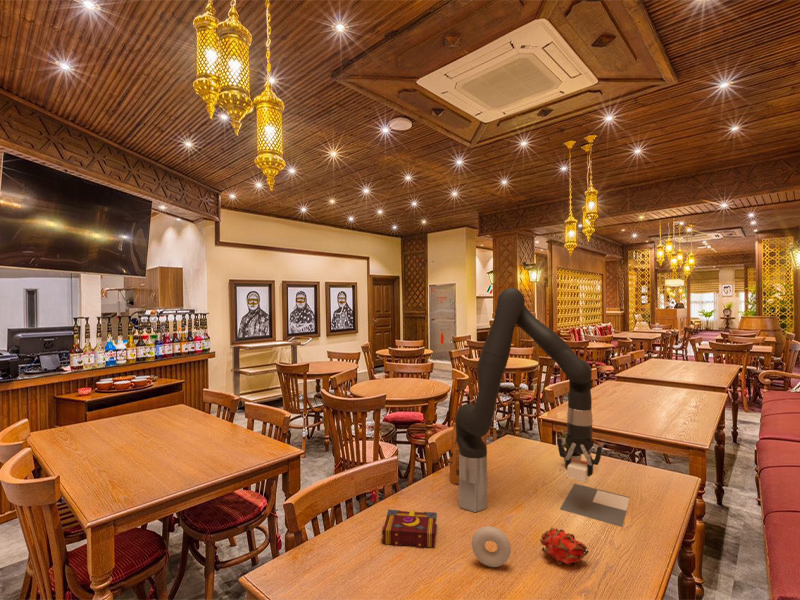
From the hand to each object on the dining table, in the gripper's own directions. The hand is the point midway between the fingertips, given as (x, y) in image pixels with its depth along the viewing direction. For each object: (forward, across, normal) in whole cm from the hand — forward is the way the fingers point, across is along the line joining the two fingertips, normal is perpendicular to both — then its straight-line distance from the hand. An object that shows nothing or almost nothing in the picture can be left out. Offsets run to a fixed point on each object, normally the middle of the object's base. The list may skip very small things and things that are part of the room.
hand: (579, 473), depth 132 cm
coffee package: (+13, -40, -2) cm, 42 cm away
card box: (+1, 0, 0) cm, 1 cm away
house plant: (+12, -8, +32) cm, 35 cm away
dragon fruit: (+13, +2, -29) cm, 32 cm away
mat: (+12, +4, +7) cm, 14 cm away
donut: (+13, -12, -42) cm, 46 cm away
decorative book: (+13, -38, -44) cm, 59 cm away
